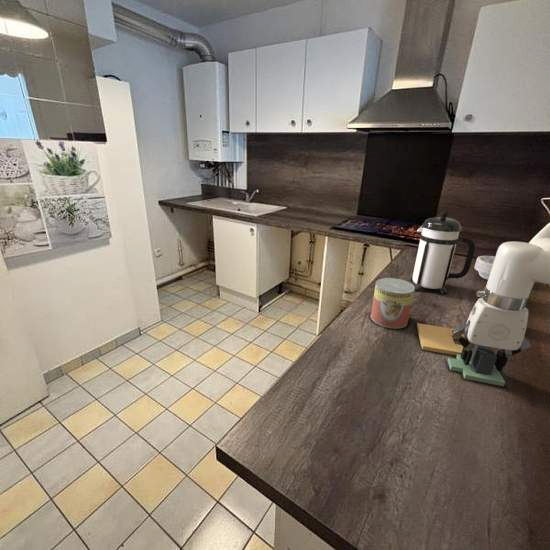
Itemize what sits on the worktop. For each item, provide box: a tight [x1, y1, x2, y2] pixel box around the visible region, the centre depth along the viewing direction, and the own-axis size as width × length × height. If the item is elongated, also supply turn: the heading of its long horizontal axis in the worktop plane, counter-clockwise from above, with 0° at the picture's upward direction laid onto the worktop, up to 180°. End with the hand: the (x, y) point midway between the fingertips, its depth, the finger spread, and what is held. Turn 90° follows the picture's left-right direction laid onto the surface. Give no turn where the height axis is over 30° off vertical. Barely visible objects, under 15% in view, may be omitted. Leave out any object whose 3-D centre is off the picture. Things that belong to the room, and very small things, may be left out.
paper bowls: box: [473, 255, 496, 281], centre depth 123 cm, size 15×15×8 cm
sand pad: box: [416, 322, 466, 357], centre depth 82 cm, size 12×12×1 cm
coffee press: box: [410, 210, 476, 295], centre depth 110 cm, size 17×16×30 cm
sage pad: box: [447, 345, 506, 387], centre depth 70 cm, size 10×8×6 cm
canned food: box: [370, 277, 416, 330], centre depth 91 cm, size 11×11×12 cm
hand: (480, 364), depth 70 cm, fingers open, 6 cm apart
